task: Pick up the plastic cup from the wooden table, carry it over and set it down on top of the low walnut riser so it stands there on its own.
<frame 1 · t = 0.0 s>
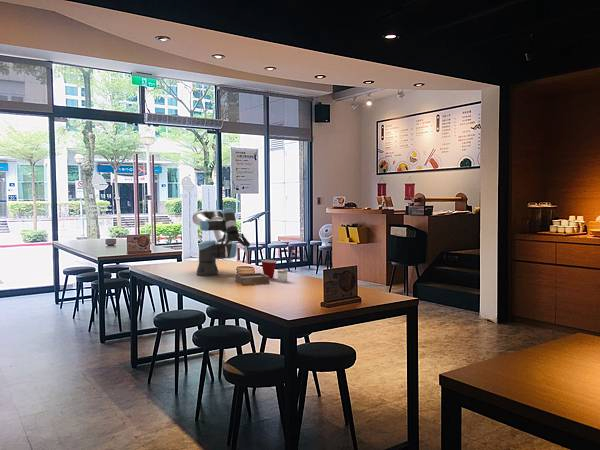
hand: (237, 255, 334), 15 cm above the table, tool tilted 35°, fingers open, 13 cm apart
ceramic sugar jar: (282, 281, 326), on the table
walnut riser: (252, 282, 323), on the table
plastic cup: (269, 278, 339), on the table
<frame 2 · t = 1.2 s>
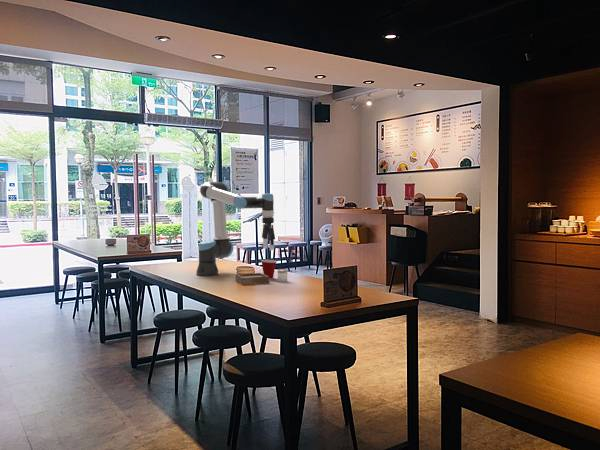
hand: (268, 249, 337), 19 cm above the table, tool pointing down, fingers open, 13 cm apart
nothing on the table moved.
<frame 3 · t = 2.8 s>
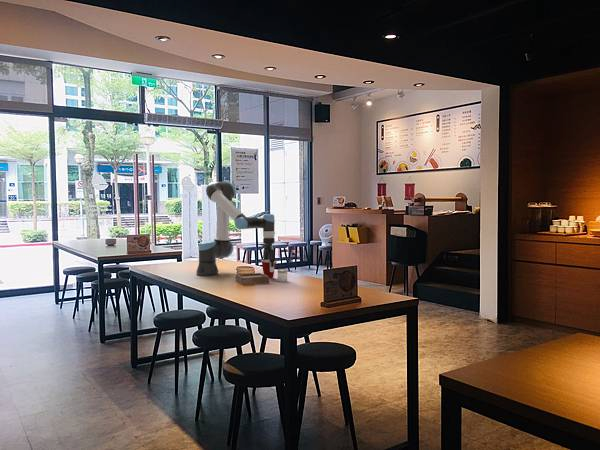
hand: (269, 270, 338), 5 cm above the table, tool pointing down, fingers closed on plastic cup, 11 cm apart
plastic cup: (269, 278, 339), on the table, touching gripper
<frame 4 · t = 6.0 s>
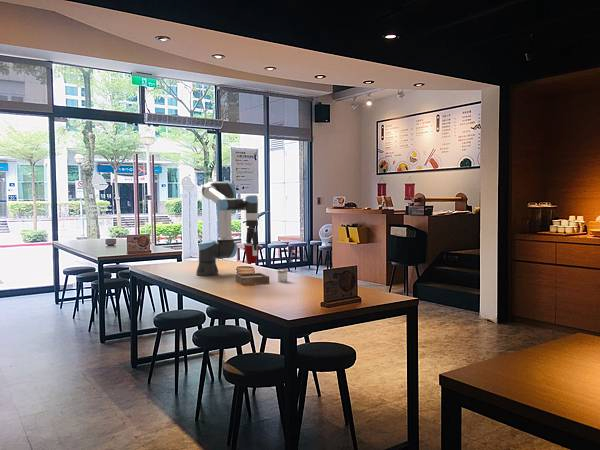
hand: (252, 254, 322), 17 cm above the table, tool pointing down, fingers closed on plastic cup, 11 cm apart
plastic cup: (252, 263, 322), point 12 cm above the table, touching gripper
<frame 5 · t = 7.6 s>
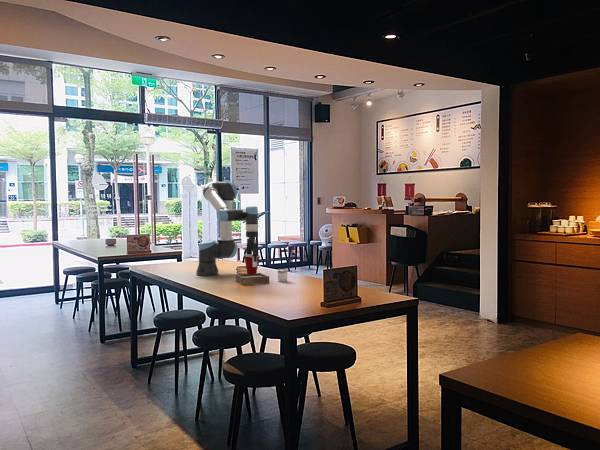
hand: (252, 265, 322), 10 cm above the table, tool pointing down, fingers closed on plastic cup, 11 cm apart
plastic cup: (252, 273, 323), point 5 cm above the table, touching gripper
when the fingers open (8 cm above the table, at t = 9.0 s): plastic cup stays where it is, resting on walnut riser.
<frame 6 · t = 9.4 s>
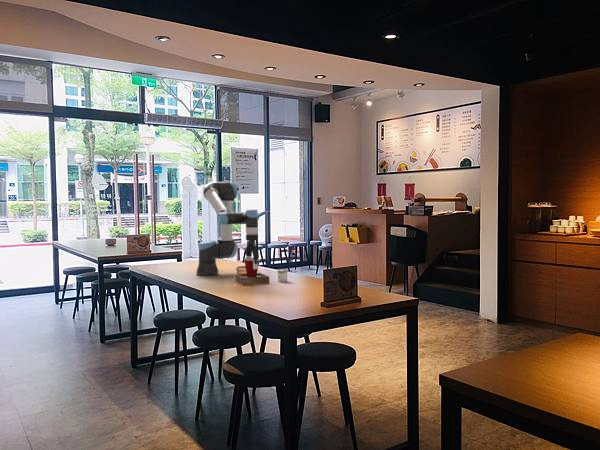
hand: (252, 267, 322), 9 cm above the table, tool pointing down, fingers open, 13 cm apart
plastic cup: (252, 277, 323), point 3 cm above the table, touching walnut riser
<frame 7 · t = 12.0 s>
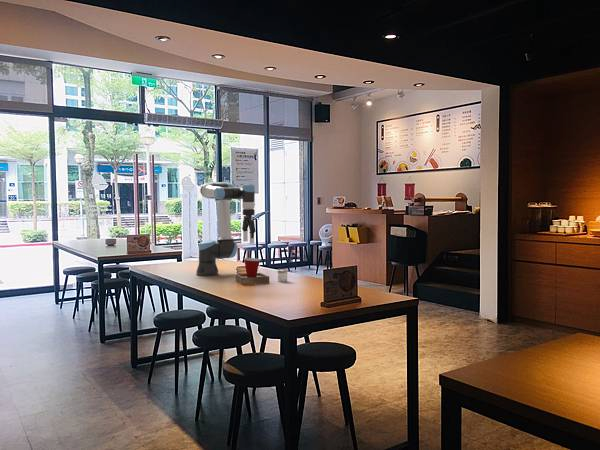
hand: (248, 242, 323), 25 cm above the table, tool pointing down, fingers open, 13 cm apart
nothing on the table moved.
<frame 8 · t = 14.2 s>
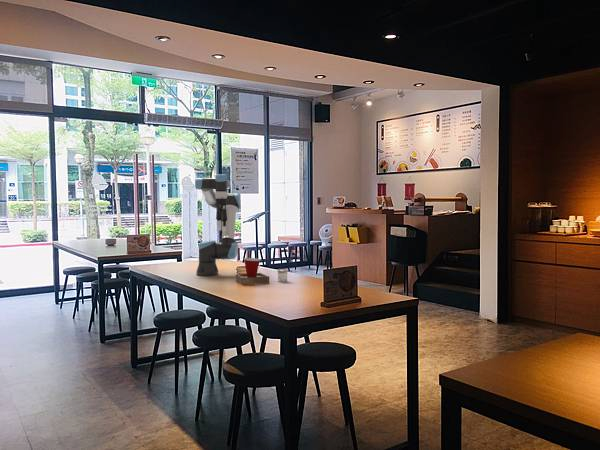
hand: (221, 231, 332), 32 cm above the table, tool pointing down, fingers open, 13 cm apart
nothing on the table moved.
at the end: plastic cup 0.1 cm from the walnut riser (horizontally); plastic cup point 2.8 cm above the table; plastic cup tilted 0° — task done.
